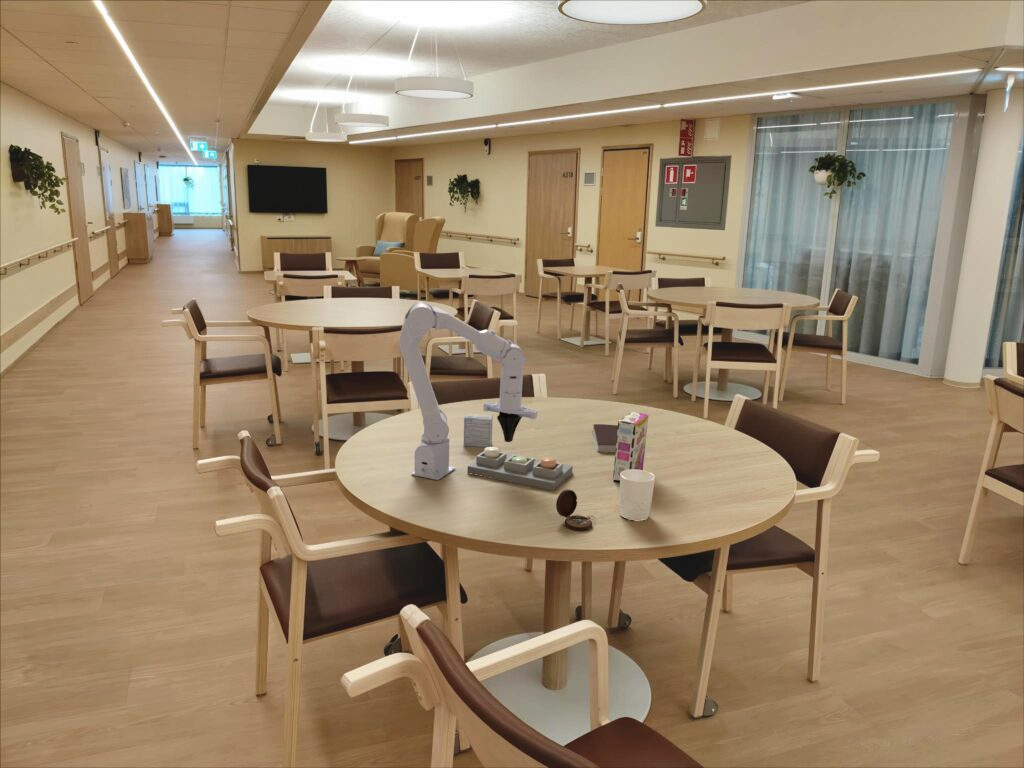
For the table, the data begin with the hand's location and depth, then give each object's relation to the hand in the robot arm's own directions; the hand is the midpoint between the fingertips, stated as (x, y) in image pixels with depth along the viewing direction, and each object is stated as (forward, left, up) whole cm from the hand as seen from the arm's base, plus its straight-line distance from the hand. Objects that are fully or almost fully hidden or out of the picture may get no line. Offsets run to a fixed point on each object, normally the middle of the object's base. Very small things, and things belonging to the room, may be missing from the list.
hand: (508, 440), depth 197 cm
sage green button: (-1, -4, -6) cm, 7 cm away
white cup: (-12, -38, -8) cm, 41 cm away
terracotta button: (-1, -12, -5) cm, 13 cm away
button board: (0, -4, -8) cm, 9 cm away
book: (+38, -19, -9) cm, 43 cm away
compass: (-22, -28, -9) cm, 37 cm away
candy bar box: (+12, -30, -9) cm, 33 cm away
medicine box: (+15, +16, -9) cm, 23 cm away
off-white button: (-1, +4, -5) cm, 6 cm away
